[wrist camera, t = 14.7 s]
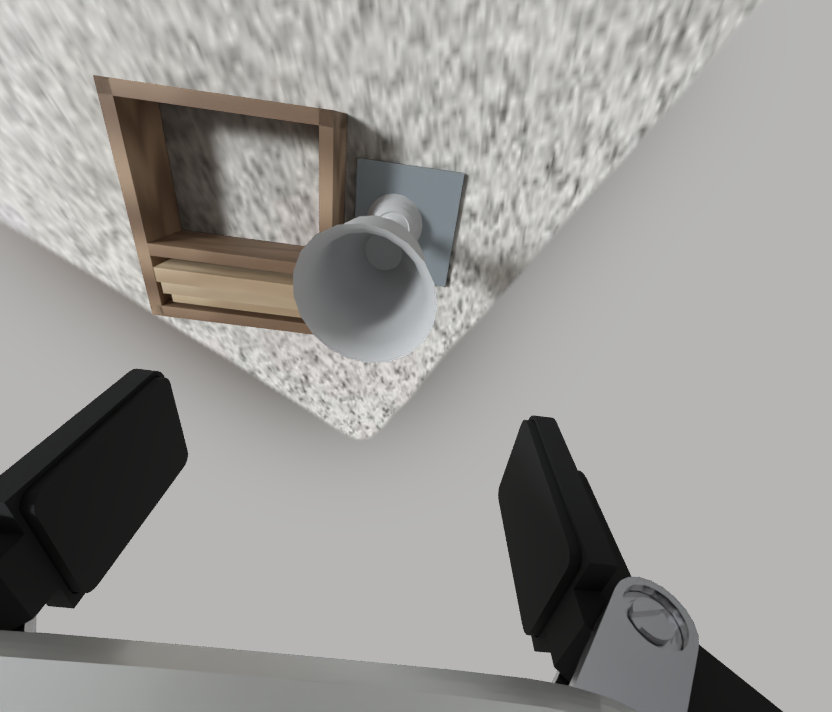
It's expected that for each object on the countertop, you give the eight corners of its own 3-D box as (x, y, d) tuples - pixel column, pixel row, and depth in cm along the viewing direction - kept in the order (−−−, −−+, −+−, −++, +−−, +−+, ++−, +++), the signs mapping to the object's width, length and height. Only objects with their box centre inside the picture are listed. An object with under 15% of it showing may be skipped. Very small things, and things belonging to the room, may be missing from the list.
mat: (358, 157, 32) (357, 158, 31) (464, 173, 32) (464, 173, 32) (353, 273, 37) (352, 274, 36) (444, 285, 37) (445, 286, 37)
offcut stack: (196, 246, 36) (153, 267, 30) (322, 263, 36) (303, 286, 31) (202, 282, 38) (162, 308, 32) (322, 298, 38) (304, 326, 33)
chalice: (338, 209, 33) (261, 274, 18) (402, 162, 31) (377, 189, 16) (386, 277, 36) (355, 383, 21) (447, 238, 34) (464, 323, 19)
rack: (142, 83, 29) (93, 75, 25) (347, 114, 30) (333, 110, 26) (183, 294, 38) (152, 314, 34) (341, 314, 39) (330, 336, 35)
